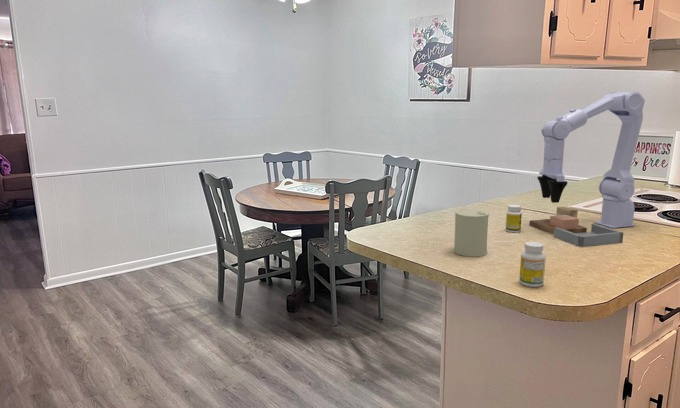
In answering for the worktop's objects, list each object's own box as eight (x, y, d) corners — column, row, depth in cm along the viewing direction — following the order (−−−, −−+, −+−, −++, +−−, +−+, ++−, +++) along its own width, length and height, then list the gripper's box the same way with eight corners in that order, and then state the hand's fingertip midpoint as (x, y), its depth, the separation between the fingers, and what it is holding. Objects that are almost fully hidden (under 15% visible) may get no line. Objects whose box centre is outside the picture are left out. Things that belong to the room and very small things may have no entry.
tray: (593, 232, 158) (594, 223, 157) (622, 242, 147) (623, 232, 146) (553, 236, 154) (554, 227, 153) (580, 247, 143) (581, 237, 142)
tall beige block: (564, 220, 175) (565, 206, 174) (576, 224, 169) (577, 209, 168) (555, 221, 174) (556, 207, 173) (567, 224, 168) (568, 210, 167)
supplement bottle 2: (539, 289, 112) (542, 248, 110) (515, 284, 115) (518, 244, 113) (546, 282, 116) (549, 243, 114) (524, 277, 119) (526, 239, 117)
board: (556, 222, 171) (556, 218, 171) (586, 232, 158) (586, 227, 158) (529, 225, 168) (529, 220, 168) (557, 235, 155) (557, 230, 155)
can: (481, 259, 134) (483, 216, 131) (448, 253, 138) (450, 212, 136) (490, 250, 141) (493, 209, 139) (459, 245, 146) (461, 206, 144)
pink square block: (565, 223, 163) (565, 214, 163) (578, 227, 158) (578, 218, 157) (549, 224, 162) (550, 216, 161) (562, 229, 156) (563, 220, 156)
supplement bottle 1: (521, 233, 159) (523, 207, 157) (506, 232, 160) (507, 207, 158) (519, 229, 163) (521, 204, 162) (504, 228, 164) (506, 204, 163)
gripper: (532, 156, 165) (530, 195, 168) (549, 161, 151) (546, 204, 154) (554, 155, 165) (551, 195, 167) (572, 161, 150) (569, 204, 153)
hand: (550, 200), depth 161 cm, fingers open, 7 cm apart
